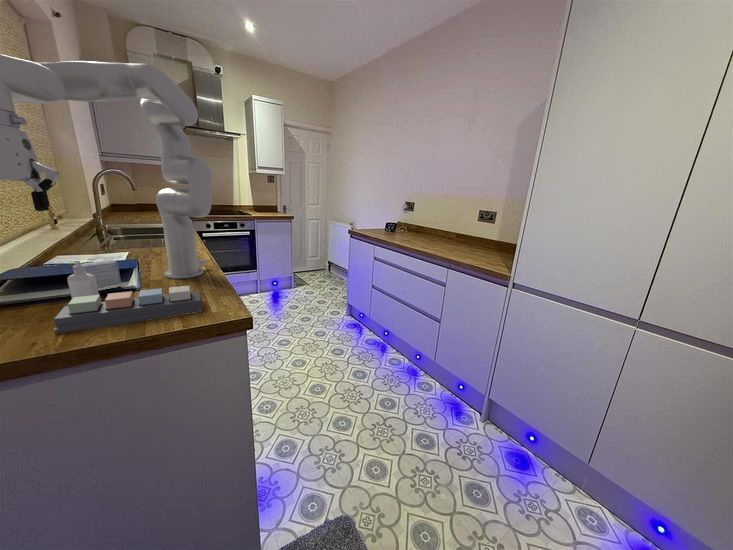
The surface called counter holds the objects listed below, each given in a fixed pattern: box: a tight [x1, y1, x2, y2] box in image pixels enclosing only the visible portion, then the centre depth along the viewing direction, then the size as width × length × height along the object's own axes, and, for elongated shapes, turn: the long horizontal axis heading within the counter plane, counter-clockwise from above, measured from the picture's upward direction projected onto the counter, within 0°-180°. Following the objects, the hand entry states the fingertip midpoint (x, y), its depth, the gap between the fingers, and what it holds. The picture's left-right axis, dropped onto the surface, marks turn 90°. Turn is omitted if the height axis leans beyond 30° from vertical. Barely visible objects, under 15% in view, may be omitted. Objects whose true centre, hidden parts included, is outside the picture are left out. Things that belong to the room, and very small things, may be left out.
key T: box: [137, 287, 164, 305], centre depth 77 cm, size 5×5×2 cm
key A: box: [168, 285, 191, 301], centre depth 81 cm, size 5×5×2 cm
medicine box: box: [81, 259, 122, 288], centre depth 90 cm, size 8×4×9 cm, turn 149°
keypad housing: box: [53, 290, 203, 335], centre depth 76 cm, size 29×11×3 cm, turn 123°
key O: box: [104, 291, 134, 309], centre depth 74 cm, size 5×5×2 cm
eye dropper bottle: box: [66, 260, 100, 300], centre depth 80 cm, size 4×6×12 cm
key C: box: [67, 294, 102, 314], centre depth 70 cm, size 5×5×2 cm
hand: (11, 209), depth 60 cm, fingers open, 9 cm apart
